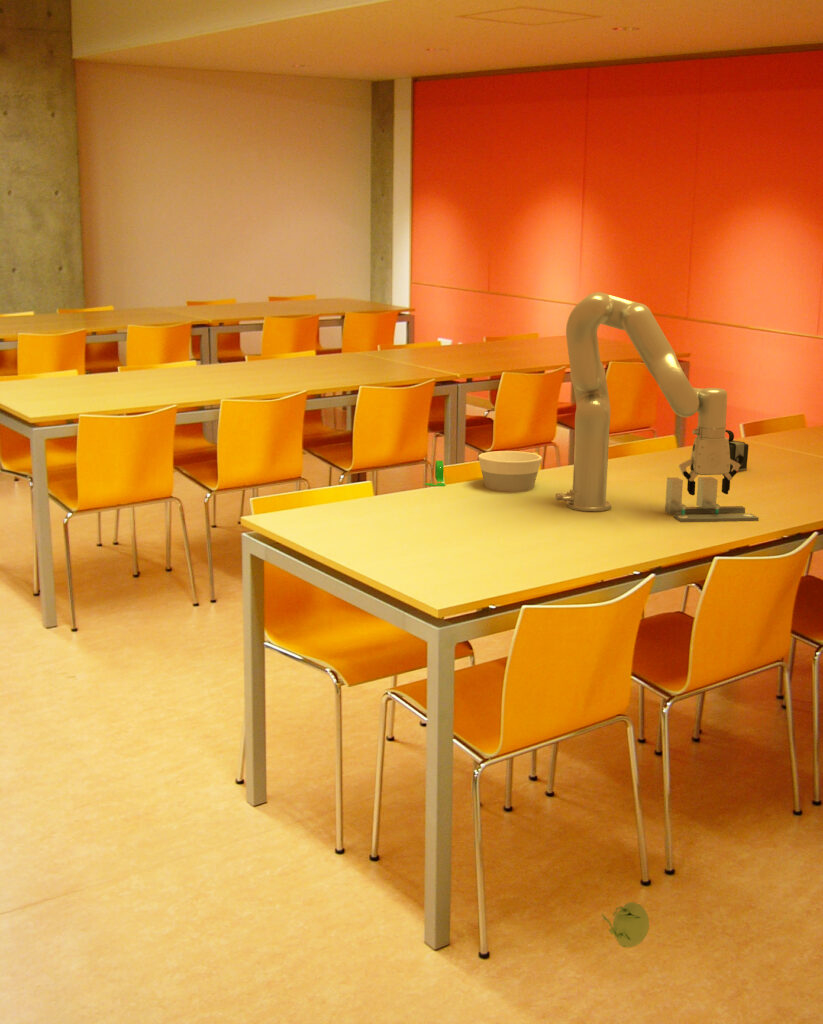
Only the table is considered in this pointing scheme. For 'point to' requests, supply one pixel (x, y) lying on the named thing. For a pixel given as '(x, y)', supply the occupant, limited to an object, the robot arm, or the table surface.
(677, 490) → the rail with fixed leg
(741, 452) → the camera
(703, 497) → the sliding leg
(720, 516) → the gauge plate
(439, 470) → the mechanical part
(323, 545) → the table surface
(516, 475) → the bowl
